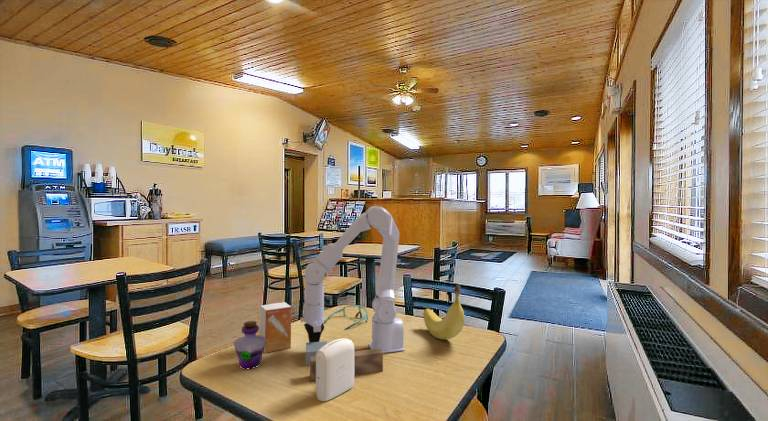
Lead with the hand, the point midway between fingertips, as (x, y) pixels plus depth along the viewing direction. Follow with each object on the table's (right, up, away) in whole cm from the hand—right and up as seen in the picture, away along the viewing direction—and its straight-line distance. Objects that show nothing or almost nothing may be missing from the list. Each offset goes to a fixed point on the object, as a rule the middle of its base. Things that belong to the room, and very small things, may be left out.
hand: (314, 347), depth 113 cm
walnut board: (+11, -2, -14) cm, 18 cm away
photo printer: (+10, -2, -24) cm, 25 cm away
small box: (-13, -1, +3) cm, 13 cm away
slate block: (+2, -2, -5) cm, 6 cm away
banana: (+40, -2, +12) cm, 42 cm away
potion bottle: (-16, -2, -9) cm, 19 cm away
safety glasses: (+7, -1, +28) cm, 29 cm away
